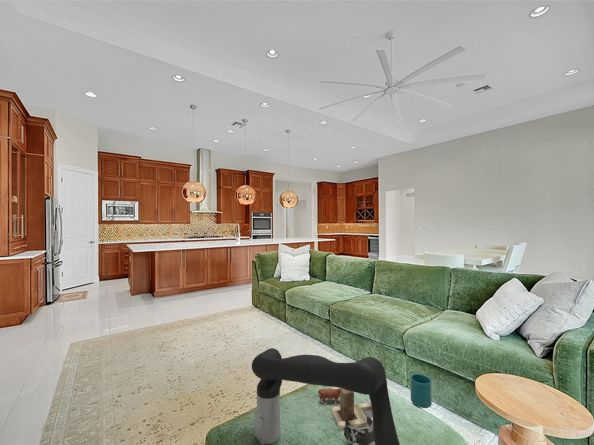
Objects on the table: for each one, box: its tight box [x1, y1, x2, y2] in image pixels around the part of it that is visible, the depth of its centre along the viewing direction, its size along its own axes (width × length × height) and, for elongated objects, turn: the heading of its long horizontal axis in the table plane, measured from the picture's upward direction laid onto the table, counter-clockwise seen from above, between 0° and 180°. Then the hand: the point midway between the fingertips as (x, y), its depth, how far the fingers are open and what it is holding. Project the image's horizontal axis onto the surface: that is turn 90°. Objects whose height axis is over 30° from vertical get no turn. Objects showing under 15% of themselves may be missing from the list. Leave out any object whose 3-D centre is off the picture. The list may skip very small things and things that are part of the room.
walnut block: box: [339, 388, 355, 421], centre depth 119 cm, size 4×4×12 cm
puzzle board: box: [330, 402, 373, 431], centre depth 120 cm, size 22×12×2 cm, turn 100°
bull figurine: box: [317, 387, 340, 405], centre depth 130 cm, size 4×13×8 cm, turn 89°
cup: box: [410, 373, 433, 409], centre depth 132 cm, size 9×12×11 cm
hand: (357, 420), depth 108 cm, fingers open, 8 cm apart
